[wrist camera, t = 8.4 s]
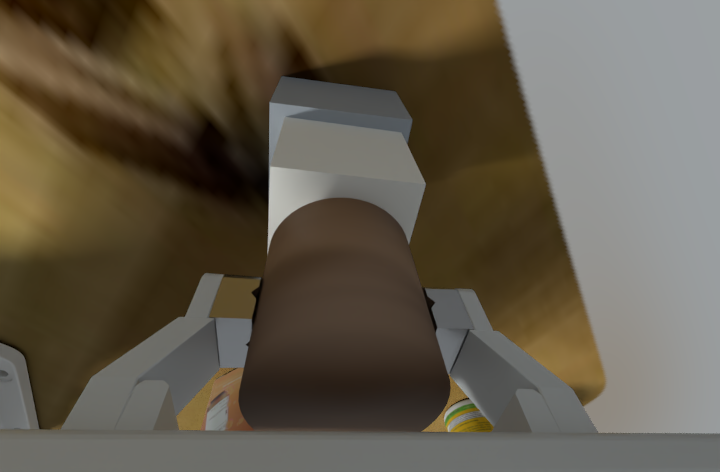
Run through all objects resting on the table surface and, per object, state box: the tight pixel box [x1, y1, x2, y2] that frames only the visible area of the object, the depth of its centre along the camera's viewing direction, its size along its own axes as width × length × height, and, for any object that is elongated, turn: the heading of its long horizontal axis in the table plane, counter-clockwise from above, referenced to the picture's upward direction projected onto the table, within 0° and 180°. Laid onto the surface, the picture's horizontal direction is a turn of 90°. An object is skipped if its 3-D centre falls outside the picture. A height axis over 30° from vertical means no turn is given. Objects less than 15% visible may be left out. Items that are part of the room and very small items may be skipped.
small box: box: [201, 368, 255, 431], centre depth 29 cm, size 8×6×10 cm
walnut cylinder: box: [238, 198, 450, 432], centre depth 10 cm, size 4×4×5 cm
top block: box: [267, 117, 426, 255], centre depth 15 cm, size 5×5×5 cm
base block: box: [268, 76, 413, 220], centre depth 20 cm, size 6×6×5 cm
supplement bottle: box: [444, 399, 494, 432], centre depth 35 cm, size 5×5×10 cm
